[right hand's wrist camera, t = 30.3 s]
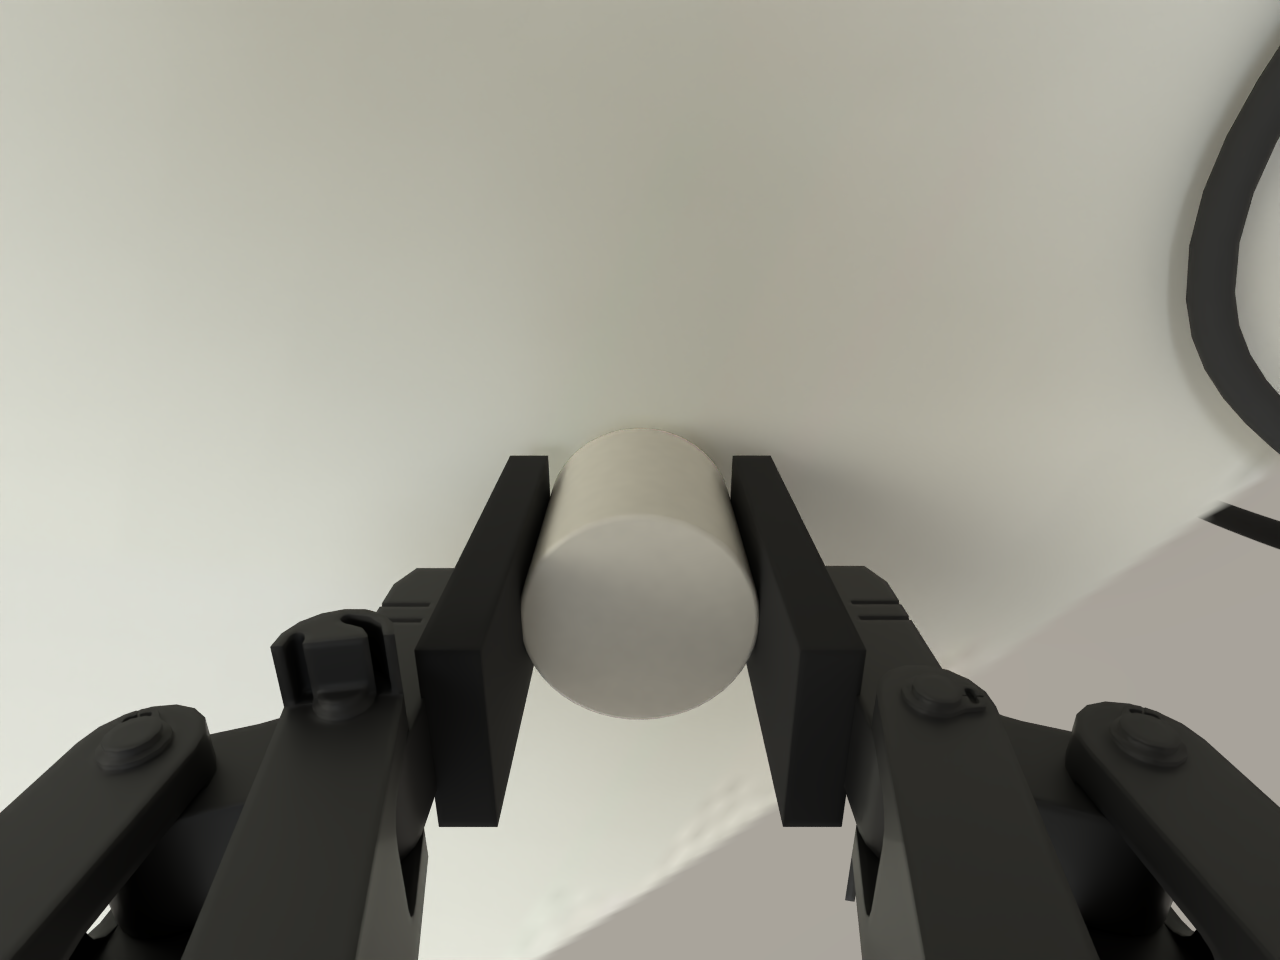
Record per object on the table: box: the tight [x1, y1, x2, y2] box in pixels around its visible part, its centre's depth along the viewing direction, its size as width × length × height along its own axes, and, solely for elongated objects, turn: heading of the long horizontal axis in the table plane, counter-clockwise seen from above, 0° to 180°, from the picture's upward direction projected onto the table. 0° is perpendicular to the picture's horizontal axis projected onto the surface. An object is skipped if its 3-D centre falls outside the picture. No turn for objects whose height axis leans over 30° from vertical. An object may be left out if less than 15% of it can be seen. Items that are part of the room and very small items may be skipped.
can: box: [521, 428, 759, 719], centre depth 13 cm, size 4×4×4 cm
